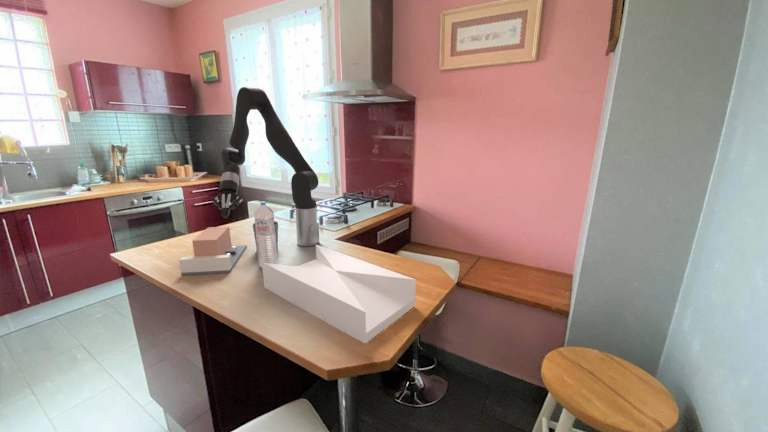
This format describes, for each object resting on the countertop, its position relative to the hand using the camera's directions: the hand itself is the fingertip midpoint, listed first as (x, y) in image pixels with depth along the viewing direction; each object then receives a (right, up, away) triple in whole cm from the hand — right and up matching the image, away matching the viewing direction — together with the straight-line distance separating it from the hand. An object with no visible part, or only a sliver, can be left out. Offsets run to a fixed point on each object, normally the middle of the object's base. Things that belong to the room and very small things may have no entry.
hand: (225, 216), depth 135 cm
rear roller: (+1, -13, -5) cm, 14 cm away
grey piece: (+2, -17, -10) cm, 20 cm away
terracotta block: (+3, -14, -13) cm, 19 cm away
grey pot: (+18, -15, +1) cm, 23 cm away
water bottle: (+24, -19, -14) cm, 34 cm away
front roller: (+3, -15, -13) cm, 20 cm away
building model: (+53, -26, -36) cm, 69 cm away
